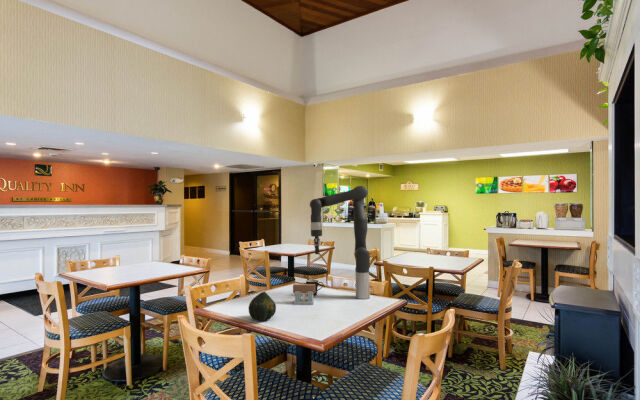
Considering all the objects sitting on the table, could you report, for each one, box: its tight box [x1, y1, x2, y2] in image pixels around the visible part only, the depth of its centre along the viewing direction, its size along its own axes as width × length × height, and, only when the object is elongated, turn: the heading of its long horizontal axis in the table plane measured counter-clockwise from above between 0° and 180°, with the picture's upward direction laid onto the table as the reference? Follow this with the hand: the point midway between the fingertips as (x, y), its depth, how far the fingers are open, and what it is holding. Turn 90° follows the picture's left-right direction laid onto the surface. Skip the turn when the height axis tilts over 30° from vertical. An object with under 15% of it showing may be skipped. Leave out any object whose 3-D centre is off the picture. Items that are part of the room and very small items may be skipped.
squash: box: [248, 291, 277, 322], centre depth 196 cm, size 14×15×15 cm
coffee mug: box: [305, 279, 324, 297], centre depth 248 cm, size 12×9×10 cm
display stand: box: [293, 291, 315, 306], centre depth 228 cm, size 12×10×8 cm
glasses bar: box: [292, 283, 315, 294], centre depth 228 cm, size 14×3×5 cm, turn 87°
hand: (317, 253), depth 236 cm, fingers open, 8 cm apart
